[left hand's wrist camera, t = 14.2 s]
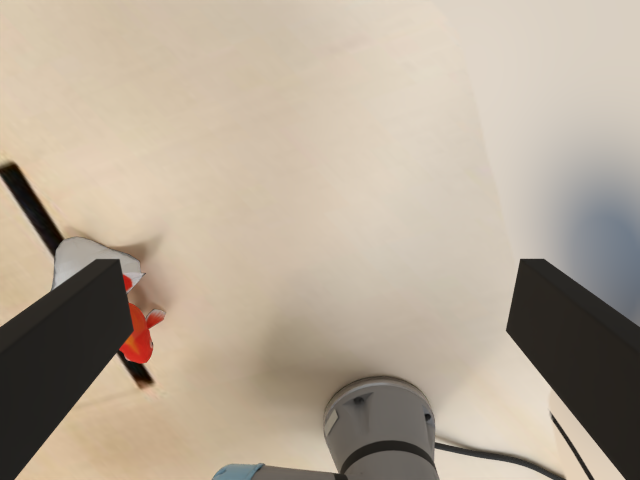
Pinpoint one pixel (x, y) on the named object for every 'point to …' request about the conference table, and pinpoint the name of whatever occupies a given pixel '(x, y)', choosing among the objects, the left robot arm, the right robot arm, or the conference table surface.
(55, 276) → the fish
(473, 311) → the conference table surface
